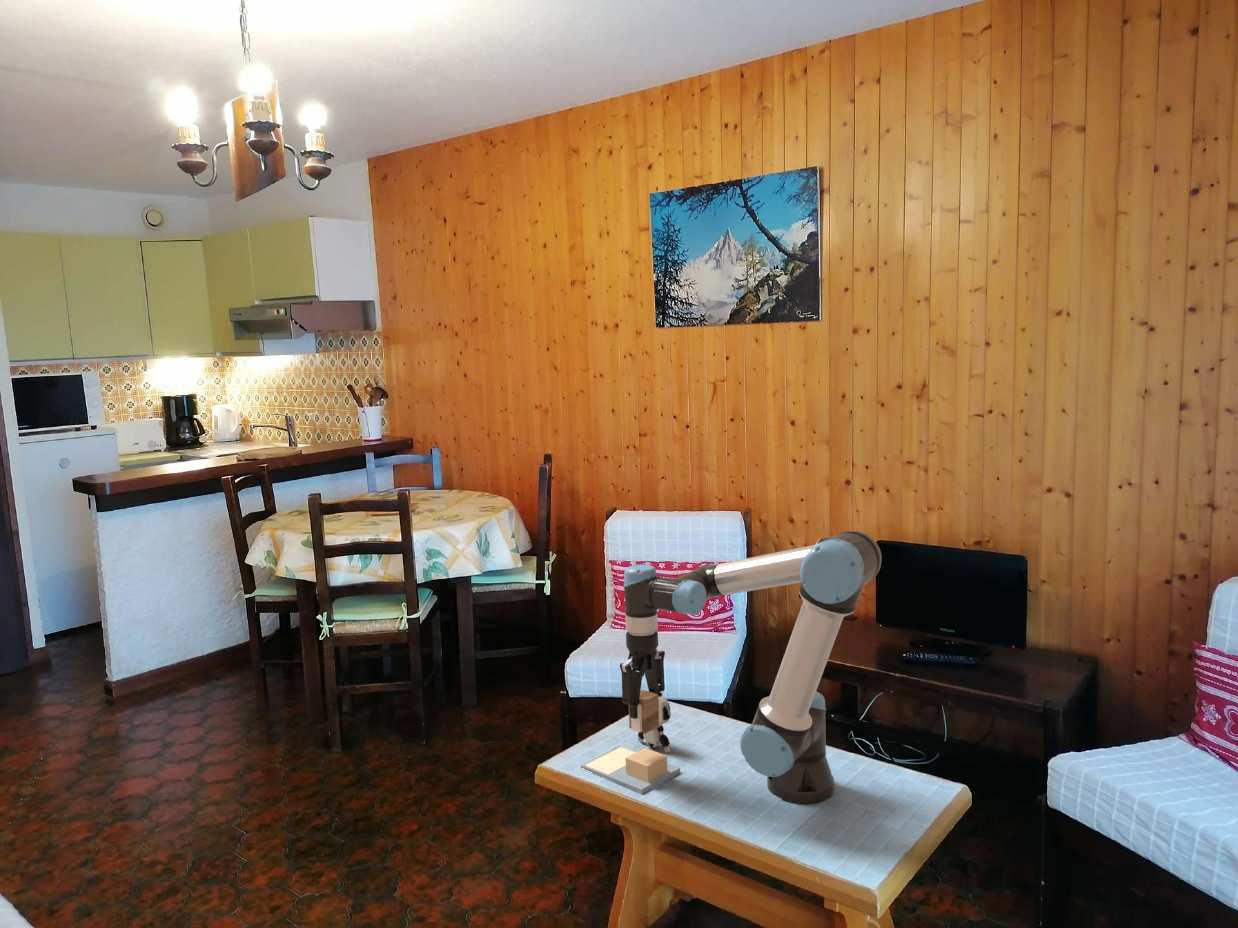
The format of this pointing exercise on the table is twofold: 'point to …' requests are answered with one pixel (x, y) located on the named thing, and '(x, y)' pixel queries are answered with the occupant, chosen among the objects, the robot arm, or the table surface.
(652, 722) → the walnut block
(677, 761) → the table surface
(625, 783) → the board
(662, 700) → the robot toy
